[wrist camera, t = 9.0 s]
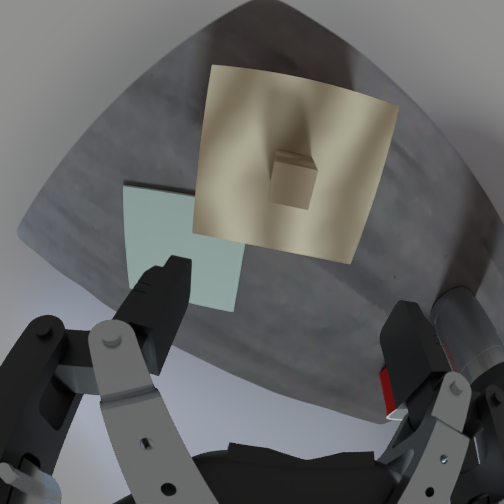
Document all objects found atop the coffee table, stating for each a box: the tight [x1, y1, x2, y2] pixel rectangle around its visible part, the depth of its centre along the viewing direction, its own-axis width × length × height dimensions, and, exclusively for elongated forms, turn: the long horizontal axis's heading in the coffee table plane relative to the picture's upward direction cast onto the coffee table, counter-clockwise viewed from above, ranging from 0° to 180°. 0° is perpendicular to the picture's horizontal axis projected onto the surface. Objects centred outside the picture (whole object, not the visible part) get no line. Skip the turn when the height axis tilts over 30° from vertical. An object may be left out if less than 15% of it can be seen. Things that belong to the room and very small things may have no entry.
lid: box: [192, 65, 399, 264], centre depth 22 cm, size 16×16×6 cm
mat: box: [123, 185, 245, 312], centre depth 41 cm, size 18×18×1 cm
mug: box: [380, 367, 408, 420], centre depth 46 cm, size 12×8×11 cm
